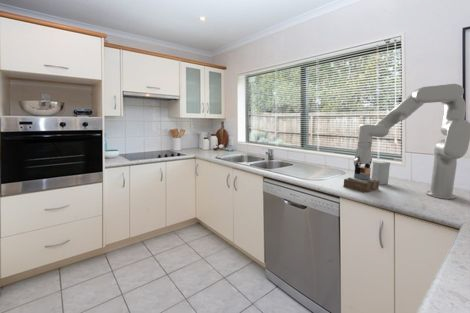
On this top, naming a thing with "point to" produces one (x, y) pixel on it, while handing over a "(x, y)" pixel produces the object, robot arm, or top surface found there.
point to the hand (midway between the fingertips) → (362, 172)
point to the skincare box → (381, 171)
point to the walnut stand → (361, 184)
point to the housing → (363, 173)
